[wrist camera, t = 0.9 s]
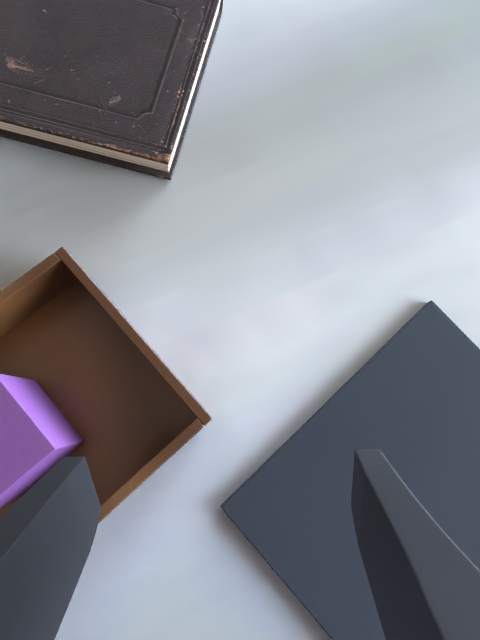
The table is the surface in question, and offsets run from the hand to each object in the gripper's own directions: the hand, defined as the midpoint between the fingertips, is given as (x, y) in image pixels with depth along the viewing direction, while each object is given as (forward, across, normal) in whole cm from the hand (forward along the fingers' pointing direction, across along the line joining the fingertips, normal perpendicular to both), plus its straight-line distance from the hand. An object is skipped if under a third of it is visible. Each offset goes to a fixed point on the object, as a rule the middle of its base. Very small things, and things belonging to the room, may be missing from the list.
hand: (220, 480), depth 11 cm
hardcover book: (+29, +14, -14) cm, 35 cm away
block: (+10, +13, +8) cm, 19 cm away
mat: (+12, -10, +13) cm, 20 cm away
